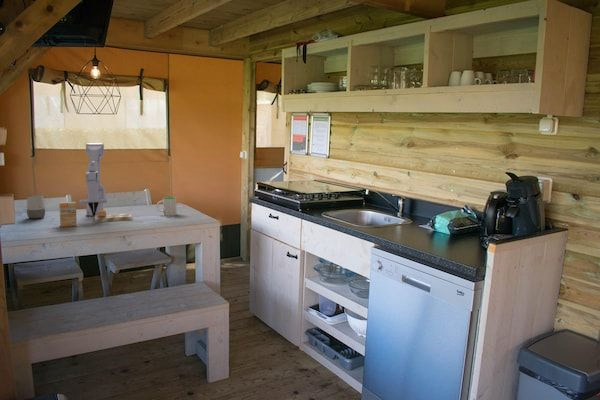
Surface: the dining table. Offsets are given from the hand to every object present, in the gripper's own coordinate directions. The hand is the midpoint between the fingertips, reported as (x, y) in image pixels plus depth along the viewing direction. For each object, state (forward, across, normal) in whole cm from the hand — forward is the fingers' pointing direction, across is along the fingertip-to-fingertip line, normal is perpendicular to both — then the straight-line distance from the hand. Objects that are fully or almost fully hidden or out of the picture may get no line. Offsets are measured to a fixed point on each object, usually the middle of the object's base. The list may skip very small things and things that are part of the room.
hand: (94, 215), depth 283 cm
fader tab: (0, +4, 0) cm, 4 cm away
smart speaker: (+3, -32, +16) cm, 35 cm away
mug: (+3, +42, +7) cm, 43 cm away
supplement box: (+3, -13, -12) cm, 18 cm away
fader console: (+3, +10, 0) cm, 11 cm away
